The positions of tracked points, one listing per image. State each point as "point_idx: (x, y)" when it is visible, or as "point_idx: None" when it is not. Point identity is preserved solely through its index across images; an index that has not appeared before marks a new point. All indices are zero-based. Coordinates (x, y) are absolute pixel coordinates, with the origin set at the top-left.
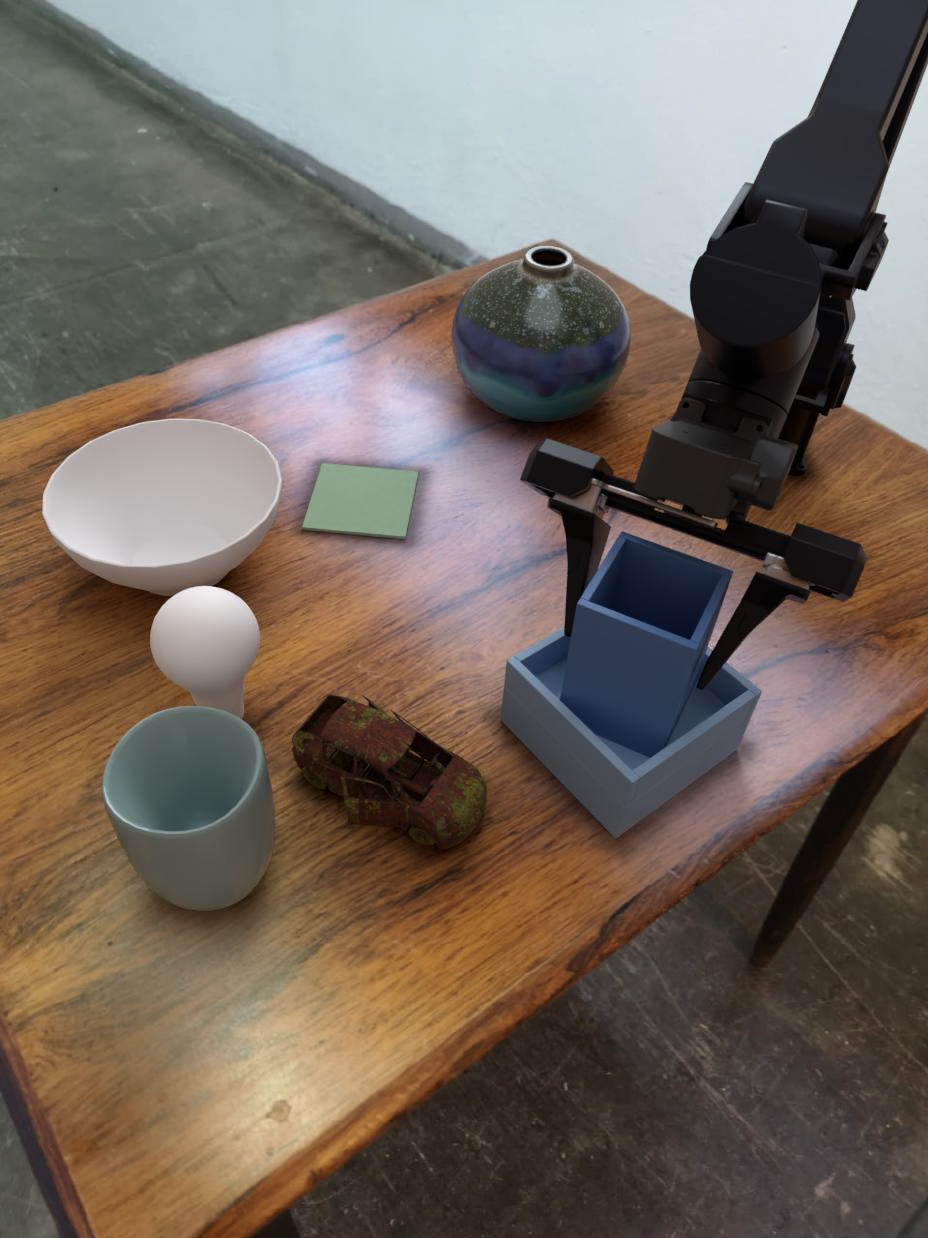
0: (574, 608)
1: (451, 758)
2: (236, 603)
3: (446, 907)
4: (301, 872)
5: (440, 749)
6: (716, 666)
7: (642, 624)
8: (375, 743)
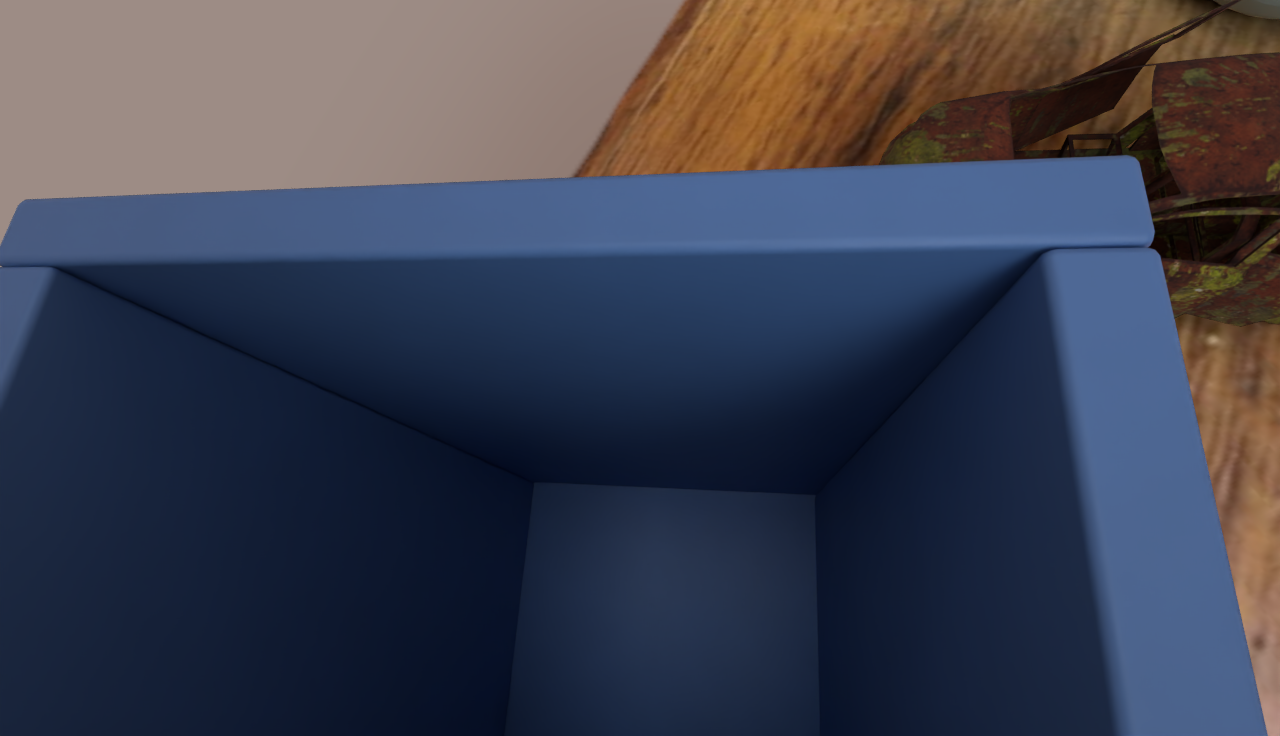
0: None
1: None
2: None
3: (833, 101)
4: (1111, 29)
5: None
6: None
7: (435, 221)
8: (1255, 91)
